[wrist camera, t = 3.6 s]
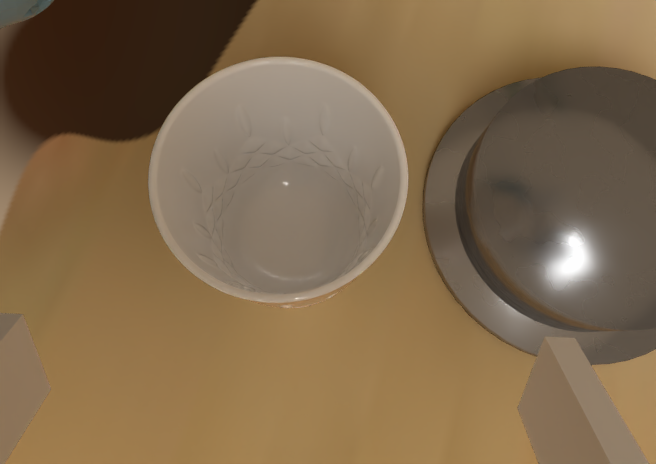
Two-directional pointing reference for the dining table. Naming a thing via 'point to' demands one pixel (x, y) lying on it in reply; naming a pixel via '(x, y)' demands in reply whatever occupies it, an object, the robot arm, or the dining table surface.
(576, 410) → the robot arm
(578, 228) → the grey round shallow piece
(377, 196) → the white cup
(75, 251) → the dining table surface
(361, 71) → the dining table surface
